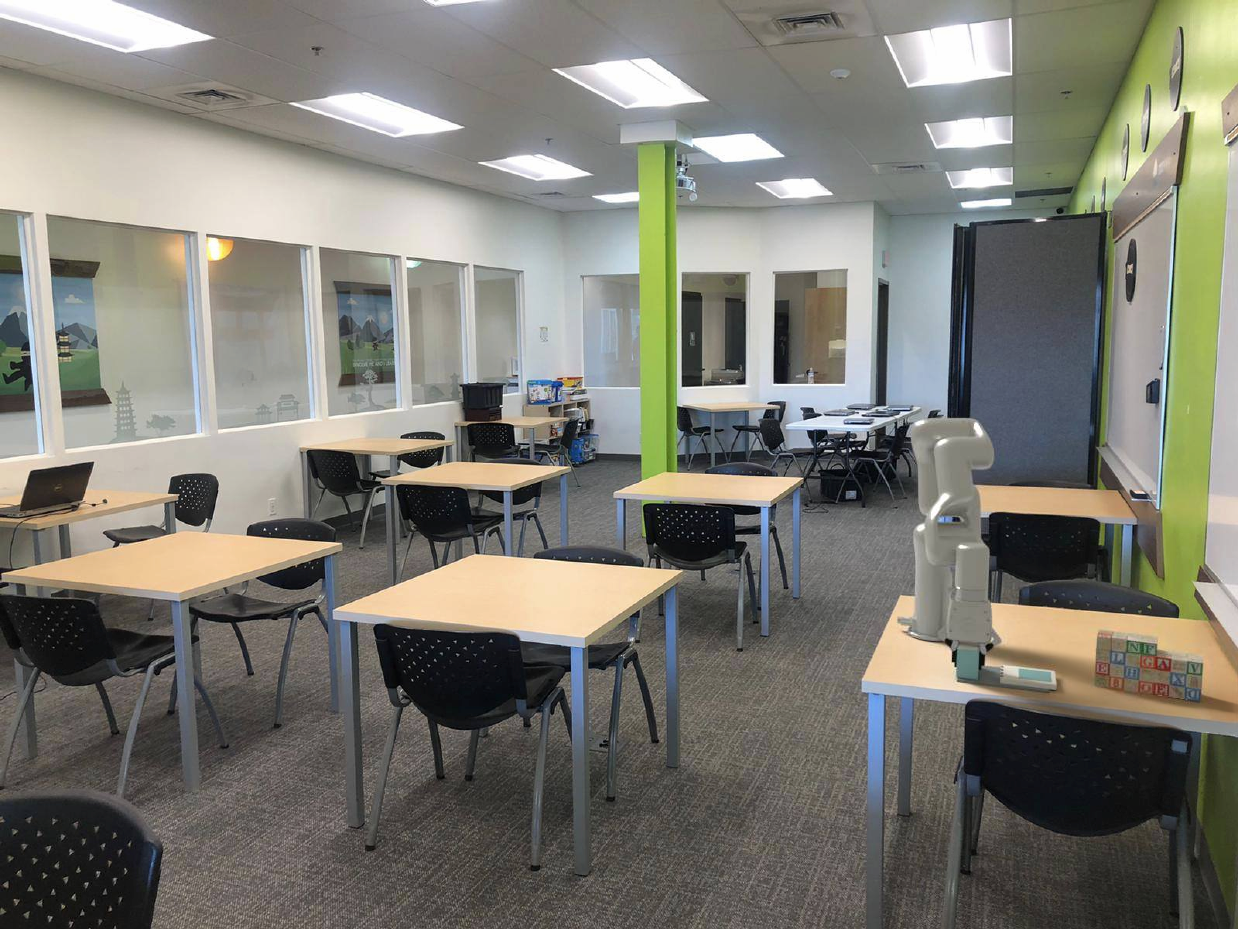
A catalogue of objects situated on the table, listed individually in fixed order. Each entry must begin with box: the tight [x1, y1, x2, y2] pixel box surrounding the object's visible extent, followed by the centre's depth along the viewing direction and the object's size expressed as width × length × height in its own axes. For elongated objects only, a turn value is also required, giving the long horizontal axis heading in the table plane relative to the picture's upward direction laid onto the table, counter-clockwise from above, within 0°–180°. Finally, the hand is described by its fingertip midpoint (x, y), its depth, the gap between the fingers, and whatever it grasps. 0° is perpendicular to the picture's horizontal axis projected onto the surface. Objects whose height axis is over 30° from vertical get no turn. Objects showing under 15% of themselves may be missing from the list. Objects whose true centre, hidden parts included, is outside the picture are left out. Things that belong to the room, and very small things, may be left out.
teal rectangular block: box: [955, 641, 980, 680], centre depth 226 cm, size 5×10×7 cm, turn 157°
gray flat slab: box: [956, 664, 1057, 694], centre depth 223 cm, size 22×13×2 cm, turn 67°
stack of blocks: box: [1093, 629, 1204, 703], centre depth 214 cm, size 21×6×12 cm, turn 59°
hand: (968, 666), depth 226 cm, fingers closed on teal rectangular block, 4 cm apart
